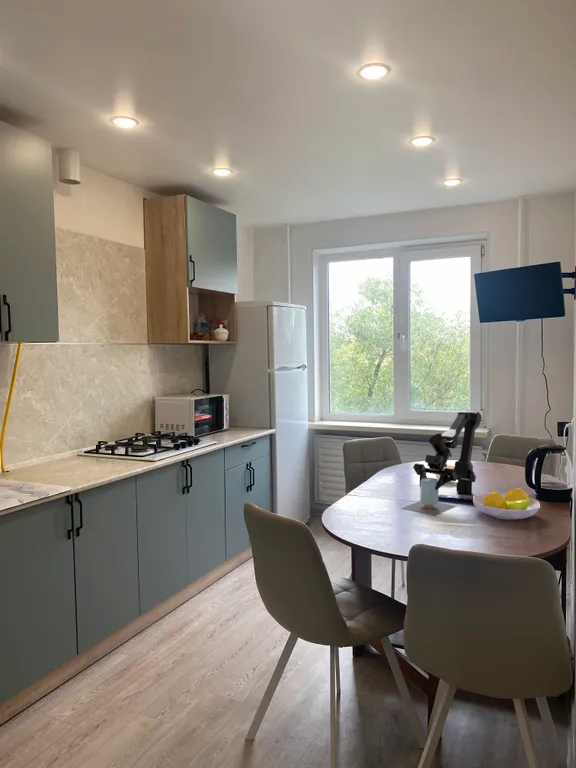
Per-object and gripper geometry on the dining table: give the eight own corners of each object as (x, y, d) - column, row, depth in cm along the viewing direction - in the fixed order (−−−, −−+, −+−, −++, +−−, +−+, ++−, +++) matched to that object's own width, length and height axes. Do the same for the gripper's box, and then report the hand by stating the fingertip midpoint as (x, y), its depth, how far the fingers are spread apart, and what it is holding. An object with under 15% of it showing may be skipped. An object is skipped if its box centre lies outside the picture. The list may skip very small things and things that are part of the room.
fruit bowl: (464, 506, 253) (464, 480, 252) (526, 506, 252) (527, 481, 251) (483, 526, 225) (484, 497, 224) (554, 527, 224) (555, 498, 224)
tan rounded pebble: (433, 506, 251) (433, 500, 251) (433, 508, 247) (434, 503, 247) (424, 505, 252) (424, 500, 252) (424, 508, 248) (424, 502, 248)
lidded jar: (456, 484, 292) (457, 466, 291) (434, 483, 294) (435, 465, 293) (455, 479, 302) (455, 462, 302) (433, 478, 304) (434, 461, 304)
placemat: (423, 500, 262) (423, 499, 262) (456, 506, 251) (456, 506, 251) (400, 509, 247) (400, 508, 247) (434, 517, 237) (434, 516, 237)
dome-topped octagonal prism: (425, 499, 254) (426, 476, 254) (440, 502, 250) (440, 479, 249) (417, 502, 249) (418, 479, 248) (432, 505, 244) (433, 482, 244)
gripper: (415, 445, 257) (402, 473, 249) (454, 450, 244) (441, 480, 237) (424, 460, 263) (411, 488, 256) (462, 465, 251) (450, 495, 243)
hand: (427, 488), depth 248 cm, fingers closed on dome-topped octagonal prism, 7 cm apart
